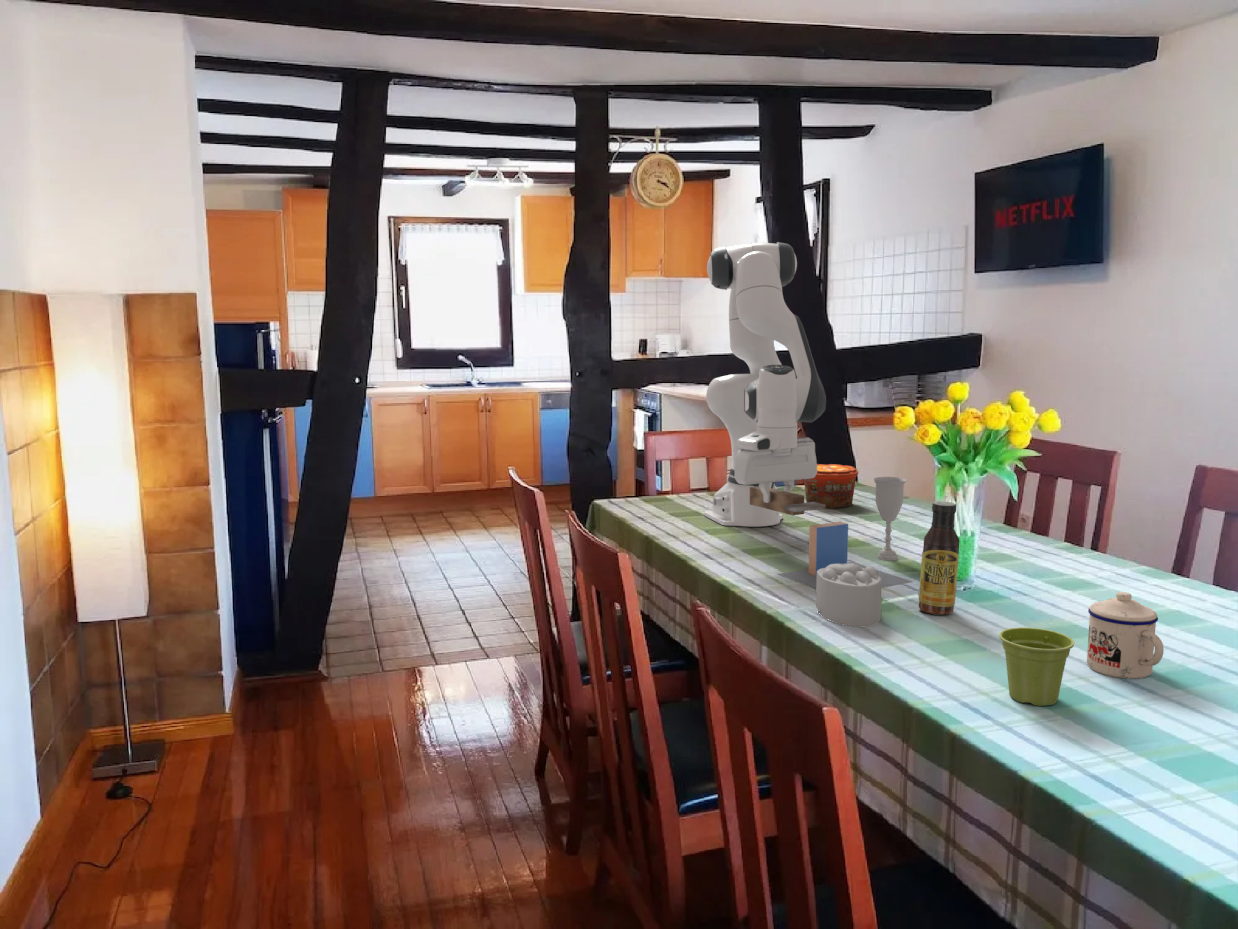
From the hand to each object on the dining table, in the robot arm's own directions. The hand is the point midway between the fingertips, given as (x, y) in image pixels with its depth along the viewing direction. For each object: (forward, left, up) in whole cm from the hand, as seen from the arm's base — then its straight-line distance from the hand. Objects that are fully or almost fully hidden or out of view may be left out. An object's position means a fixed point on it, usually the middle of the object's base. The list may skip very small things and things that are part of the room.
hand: (776, 501), depth 206 cm
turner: (+2, 0, -2) cm, 3 cm away
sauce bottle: (+47, +1, -13) cm, 48 cm away
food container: (-42, +50, -13) cm, 67 cm away
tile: (+18, 0, -12) cm, 21 cm away
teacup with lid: (+82, +3, -13) cm, 83 cm away
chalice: (+15, +19, -13) cm, 27 cm away
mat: (+23, 0, -13) cm, 26 cm away
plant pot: (+82, -17, -13) cm, 84 cm away
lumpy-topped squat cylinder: (+41, -14, -13) cm, 45 cm away
